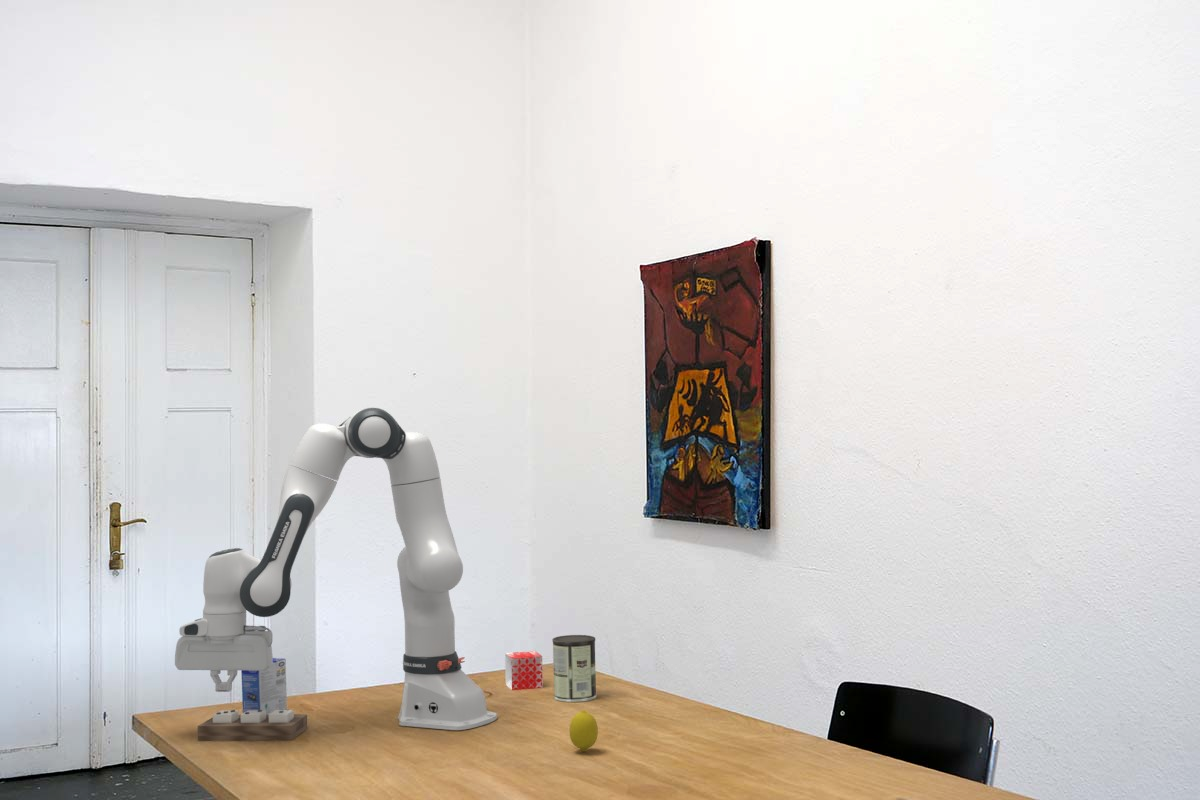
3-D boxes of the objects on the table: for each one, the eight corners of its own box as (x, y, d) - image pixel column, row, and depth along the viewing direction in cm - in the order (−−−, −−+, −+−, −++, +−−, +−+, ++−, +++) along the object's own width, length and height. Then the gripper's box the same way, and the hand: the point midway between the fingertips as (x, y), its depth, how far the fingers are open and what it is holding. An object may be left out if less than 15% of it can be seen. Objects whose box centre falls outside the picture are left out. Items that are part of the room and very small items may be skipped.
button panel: (307, 728, 241) (307, 714, 241) (292, 740, 231) (292, 725, 231) (216, 728, 242) (216, 714, 242) (197, 740, 232) (197, 726, 232)
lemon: (601, 749, 220) (601, 707, 220) (592, 756, 215) (591, 714, 215) (575, 747, 222) (574, 706, 222) (565, 754, 216) (564, 712, 217)
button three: (238, 721, 239) (238, 709, 239) (231, 726, 235) (231, 713, 235) (220, 721, 239) (220, 709, 239) (212, 726, 235) (212, 713, 235)
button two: (266, 721, 239) (266, 709, 239) (259, 726, 235) (259, 713, 235) (247, 721, 239) (247, 709, 239) (240, 726, 235) (240, 713, 235)
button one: (293, 721, 238) (293, 709, 238) (287, 726, 234) (287, 713, 234) (275, 721, 239) (275, 709, 239) (268, 726, 235) (268, 713, 235)
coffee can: (573, 691, 274) (572, 633, 274) (605, 696, 267) (604, 637, 268) (544, 698, 266) (543, 639, 267) (576, 704, 259) (575, 643, 260)
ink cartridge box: (268, 710, 260) (268, 647, 260) (288, 711, 258) (287, 648, 258) (240, 719, 250) (240, 654, 251) (260, 721, 248) (260, 655, 249)
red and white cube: (542, 688, 278) (542, 656, 279) (511, 690, 276) (511, 658, 277) (535, 682, 286) (535, 650, 286) (505, 684, 284) (505, 652, 284)
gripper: (277, 623, 241) (276, 688, 240) (184, 623, 242) (183, 687, 241) (267, 628, 234) (266, 694, 234) (172, 627, 235) (170, 693, 235)
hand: (223, 691), depth 237 cm, fingers closed
